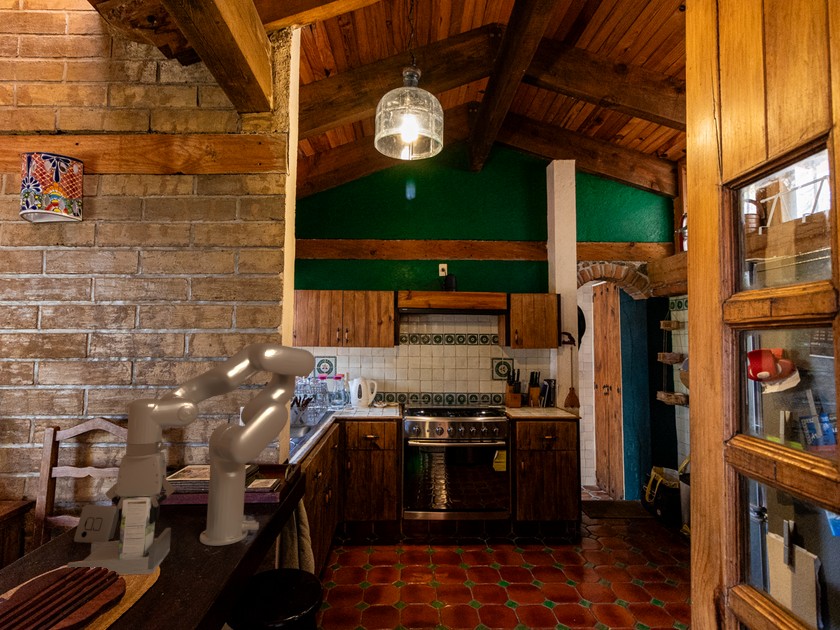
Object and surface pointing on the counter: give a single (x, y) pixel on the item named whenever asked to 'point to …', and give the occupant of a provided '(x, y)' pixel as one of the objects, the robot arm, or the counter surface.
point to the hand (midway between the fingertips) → (138, 521)
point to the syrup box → (136, 528)
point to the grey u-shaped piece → (108, 558)
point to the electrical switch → (97, 523)
